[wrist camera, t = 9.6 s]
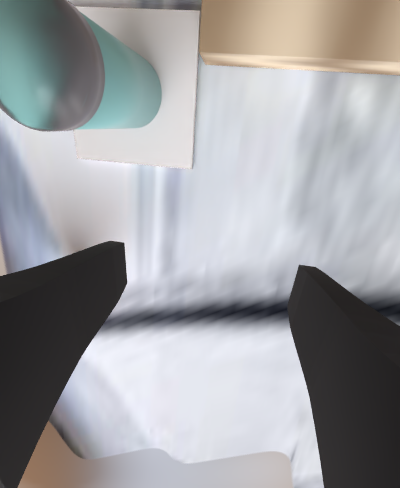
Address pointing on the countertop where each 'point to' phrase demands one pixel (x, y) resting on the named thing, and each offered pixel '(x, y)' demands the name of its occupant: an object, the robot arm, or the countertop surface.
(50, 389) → the robot arm
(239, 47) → the tan board with hole
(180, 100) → the mat
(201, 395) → the countertop surface
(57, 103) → the plug
